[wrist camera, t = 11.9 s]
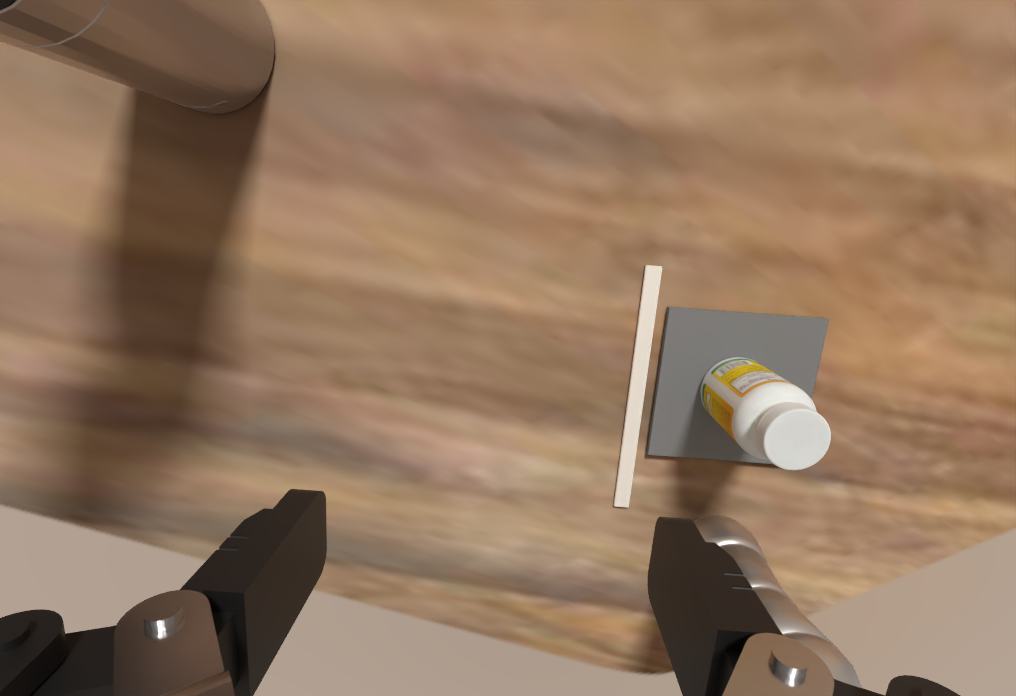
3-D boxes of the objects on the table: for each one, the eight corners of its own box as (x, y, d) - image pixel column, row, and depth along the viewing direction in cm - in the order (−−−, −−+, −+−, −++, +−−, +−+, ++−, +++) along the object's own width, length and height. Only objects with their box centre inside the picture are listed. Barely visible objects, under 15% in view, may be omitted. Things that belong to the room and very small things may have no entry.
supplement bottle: (721, 344, 39) (785, 382, 30) (781, 374, 40) (862, 421, 30) (685, 403, 40) (735, 458, 31) (743, 432, 41) (810, 494, 31)
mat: (667, 306, 39) (669, 307, 39) (824, 318, 39) (829, 319, 39) (646, 451, 42) (648, 454, 41) (792, 462, 42) (796, 465, 41)
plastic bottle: (652, 531, 44) (761, 778, 24) (723, 490, 43) (894, 714, 23) (691, 585, 45) (823, 862, 25) (760, 547, 44) (953, 804, 24)
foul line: (645, 265, 38) (646, 265, 38) (661, 266, 38) (662, 266, 38) (613, 504, 43) (614, 506, 43) (627, 505, 43) (628, 507, 43)
